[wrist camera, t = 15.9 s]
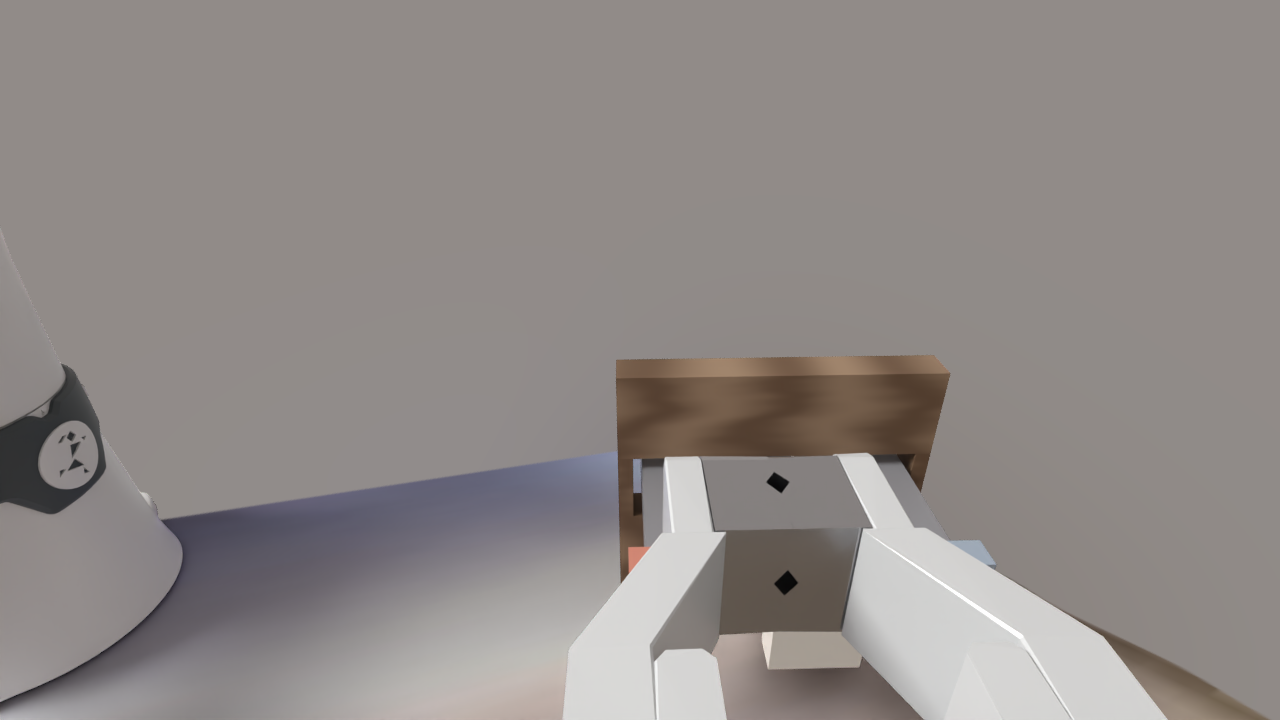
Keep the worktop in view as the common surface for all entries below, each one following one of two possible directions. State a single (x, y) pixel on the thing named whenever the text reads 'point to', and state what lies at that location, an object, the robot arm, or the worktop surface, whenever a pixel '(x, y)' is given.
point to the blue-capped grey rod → (923, 506)
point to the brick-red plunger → (649, 507)
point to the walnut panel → (772, 413)
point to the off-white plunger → (808, 649)
